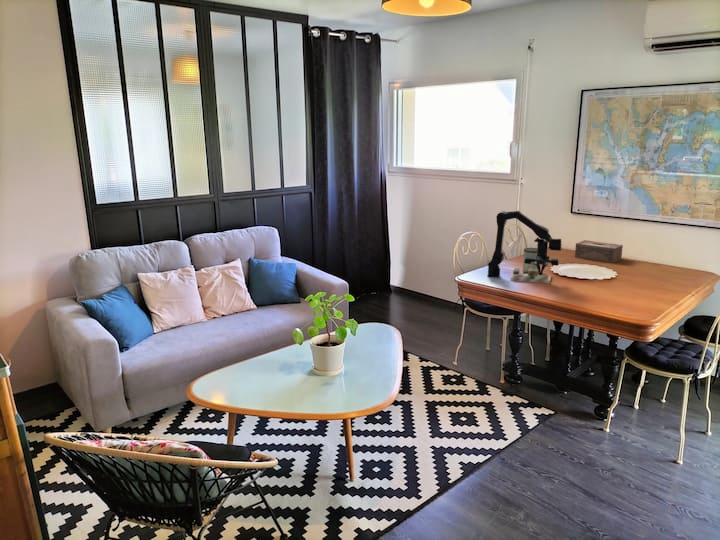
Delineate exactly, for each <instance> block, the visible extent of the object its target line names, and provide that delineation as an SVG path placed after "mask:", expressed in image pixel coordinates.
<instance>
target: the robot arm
mask: <svg viewBox="0 0 720 540" xmlns="http://www.w3.org/2000/svg"><path fill="white" fill-rule="evenodd" d="M495 219H496V225H497V231H496V241H495V249H494V252H493V254H492V257H491V260H490V261H489V262H488V263H487V266H488V267H487V276H486V277H490V278H491V277H492V278H499V276H500V275H501V268H500V264H501V263H502V262H503V261H504V259H505V252H504V251H503V246H504V245H503V244H504V236H505V227H506V225H507V222H508V220H513V219H517V220H518V221H519V222H521V223H522V224H523V225H524V226H527V227H528V229H530V230H532V231H533V233H534V234H535V235H536V236H537V237H536V238H535V239H534V240H533V242H534V243H537V244H536V246H537V247H536V248H537V256H536V259H532V257H526V258H525V262H524V263H526V264H530V263H531V262H535V265H536V266H537V268H538V271H539V272H538V275H543V272H544V270H545V268H546V267H548V266H549V264H550V265H551V266H559V261H560V260H559V258H551V259H550V255H548V249H549V250H550V251H557V252H559V251H560V252H561V251H562V244H563V243H562V238H552V235H551V234H550V230H549V228H547V227H545V226H543V225H540V224H538V223H536V222H534V221H533V220H532V219H531V218H529V217H527V215H524V214H523V213H522V212H521V211H520V210H515V211H514V210H513V211H504V210H501V211H500V212H499V213H497V214H496V218H495Z"/></svg>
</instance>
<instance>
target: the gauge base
mask: <svg viewBox="0 0 720 540" xmlns="http://www.w3.org/2000/svg"><path fill="white" fill-rule="evenodd" d="M551 277H552V276H551V275H547V274H542V275H540V274H537V276H533V277H532V276H528V274H523V272H522V273H520V268H516V267H515V268H514V269H513V272H512V274H511V277H510V281H517V282H526V283H527V282H530V283H540V284H541V283H543V284H551V279H552V278H551ZM531 278H532V279H531Z"/></svg>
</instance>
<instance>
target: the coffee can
mask: <svg viewBox="0 0 720 540" xmlns="http://www.w3.org/2000/svg"><path fill="white" fill-rule="evenodd" d="M536 256H537V247H525V248H524V249H523V260H522V261H523V262H522V272H523V271H528V270H529V268H535V269H538V268H537V266H536V265H535V262H531V263H530V264H526V263H524V262H525V258H526V257H532V259H536ZM537 274H539V271H538V272H537Z"/></svg>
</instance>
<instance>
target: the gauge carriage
mask: <svg viewBox="0 0 720 540" xmlns="http://www.w3.org/2000/svg"><path fill="white" fill-rule="evenodd" d="M537 272H538V269H535V268H529V270H528V271H523V270H522V273H523V274H528V276H532V277H533V276H537V275H538V273H539V272H538V273H537ZM531 279H532V278H531Z"/></svg>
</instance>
